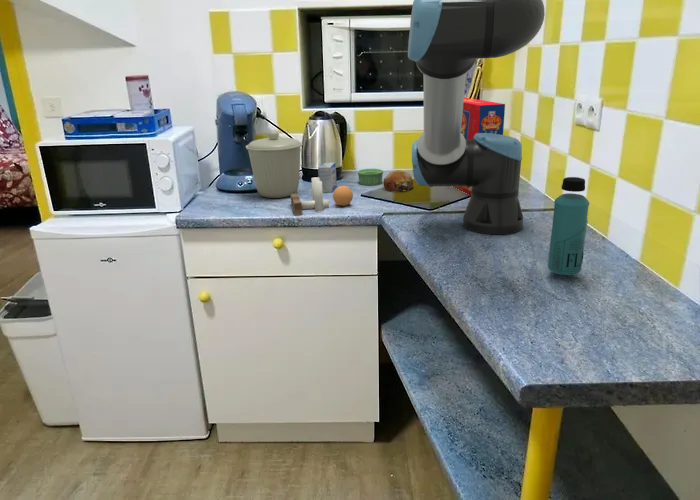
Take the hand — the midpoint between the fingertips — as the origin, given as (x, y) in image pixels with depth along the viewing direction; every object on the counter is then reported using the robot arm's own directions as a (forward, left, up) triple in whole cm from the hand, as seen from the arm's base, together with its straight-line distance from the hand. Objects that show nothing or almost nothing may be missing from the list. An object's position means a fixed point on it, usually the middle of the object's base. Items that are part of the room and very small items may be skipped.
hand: (442, 123), depth 149 cm
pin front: (+9, +32, -23) cm, 41 cm away
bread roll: (+24, +6, -24) cm, 35 cm away
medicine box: (+30, +29, -24) cm, 48 cm away
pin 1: (+12, +35, -24) cm, 44 cm away
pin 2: (+7, +35, -24) cm, 43 cm away
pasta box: (+18, -16, -24) cm, 34 cm away
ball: (+9, +28, -21) cm, 36 cm away
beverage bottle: (-56, -5, -24) cm, 61 cm away
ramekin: (+35, +13, -24) cm, 45 cm away
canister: (+29, +46, -24) cm, 59 cm away
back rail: (+9, +42, -24) cm, 49 cm away
